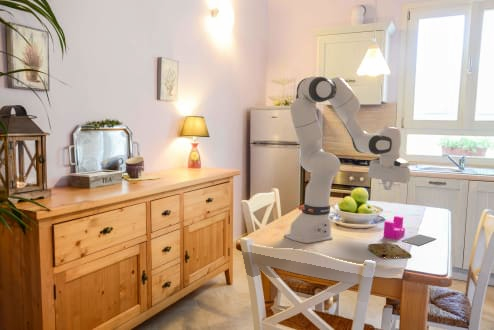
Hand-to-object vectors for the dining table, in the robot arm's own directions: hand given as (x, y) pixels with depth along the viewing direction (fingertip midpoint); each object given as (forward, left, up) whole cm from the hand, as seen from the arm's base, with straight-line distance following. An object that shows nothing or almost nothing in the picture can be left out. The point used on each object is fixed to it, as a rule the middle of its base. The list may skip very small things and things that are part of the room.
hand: (387, 189), depth 191 cm
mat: (0, -17, -20) cm, 27 cm away
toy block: (-1, -7, -21) cm, 22 cm away
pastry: (-26, -18, -21) cm, 38 cm away
